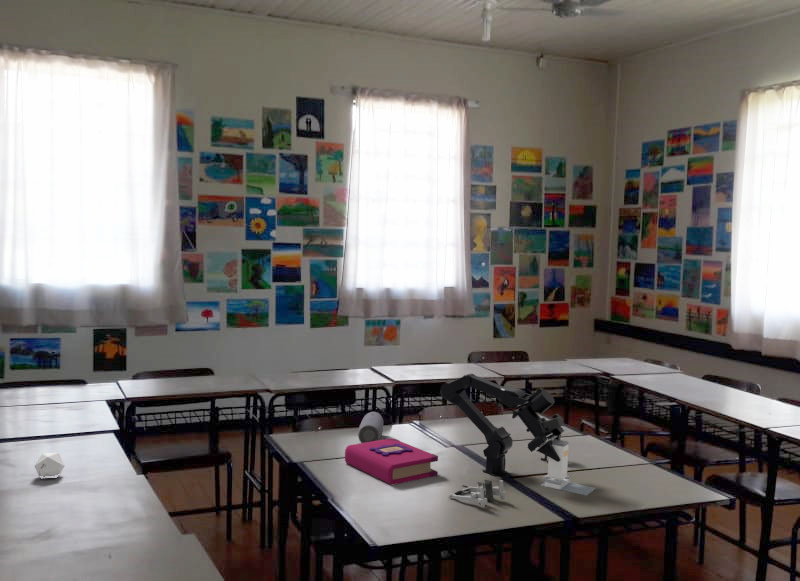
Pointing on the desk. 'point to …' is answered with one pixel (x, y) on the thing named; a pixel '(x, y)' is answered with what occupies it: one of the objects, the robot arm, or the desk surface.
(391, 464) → the book
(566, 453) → the relay module
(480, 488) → the bike brake
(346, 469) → the desk surface
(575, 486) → the din rail board
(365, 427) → the bluetooth speaker
